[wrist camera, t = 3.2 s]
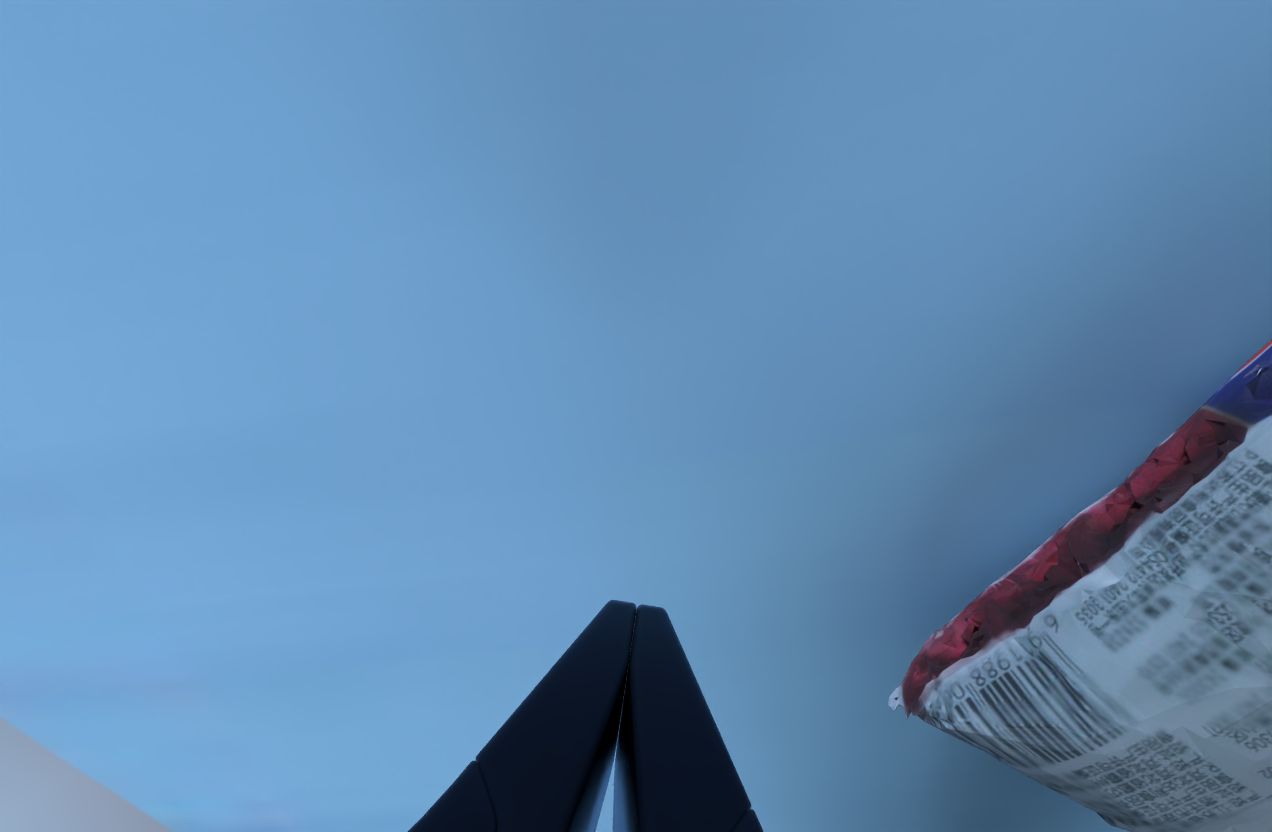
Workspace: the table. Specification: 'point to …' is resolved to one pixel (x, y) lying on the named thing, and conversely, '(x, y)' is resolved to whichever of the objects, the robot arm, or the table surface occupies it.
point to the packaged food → (1135, 637)
